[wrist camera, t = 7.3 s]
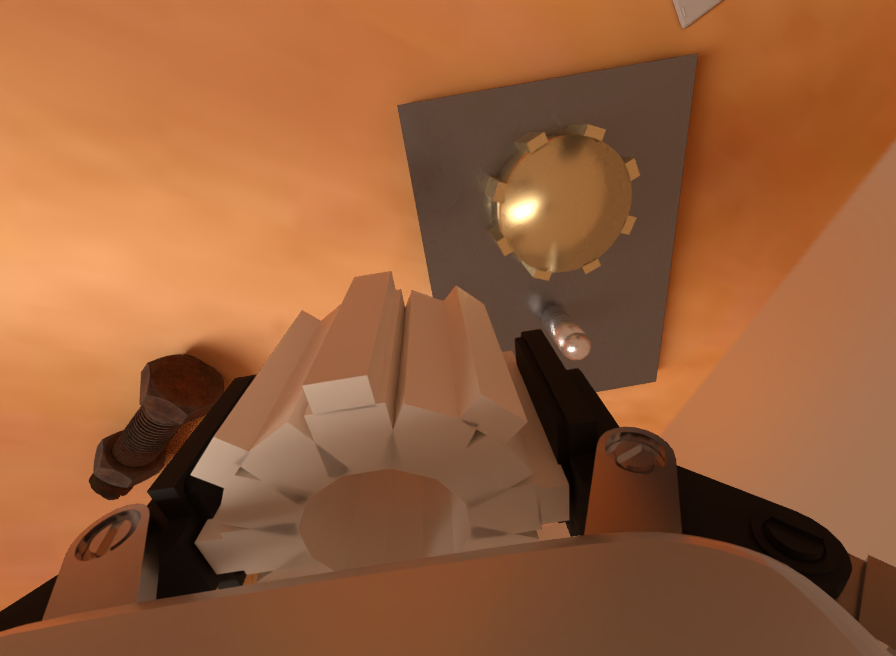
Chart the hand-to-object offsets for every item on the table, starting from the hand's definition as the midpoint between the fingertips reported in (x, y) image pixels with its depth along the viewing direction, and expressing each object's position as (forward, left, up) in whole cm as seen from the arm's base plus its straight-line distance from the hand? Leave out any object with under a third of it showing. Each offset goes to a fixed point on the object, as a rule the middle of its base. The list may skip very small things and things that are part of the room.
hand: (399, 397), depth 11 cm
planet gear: (0, 0, -1) cm, 1 cm away
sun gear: (-1, +10, -17) cm, 20 cm away
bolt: (+12, -24, -19) cm, 33 cm away
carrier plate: (+4, +10, -19) cm, 22 cm away
